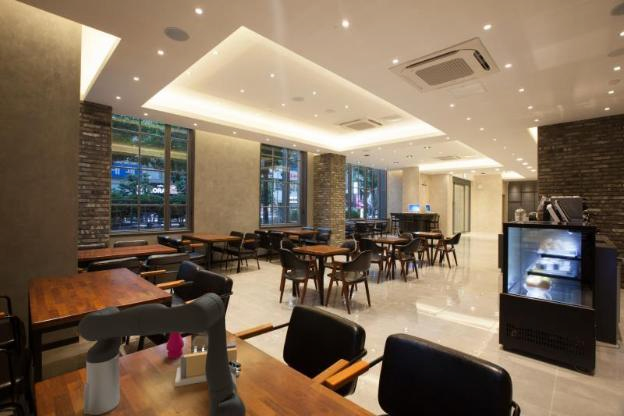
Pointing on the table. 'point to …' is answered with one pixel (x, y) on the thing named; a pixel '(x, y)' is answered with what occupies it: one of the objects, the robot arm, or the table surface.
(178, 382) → the white grey slotted rack
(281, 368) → the table surface
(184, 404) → the table surface
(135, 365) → the table surface
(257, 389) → the table surface
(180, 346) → the pepper mill
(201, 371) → the leaning tan board
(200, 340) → the coffee box
